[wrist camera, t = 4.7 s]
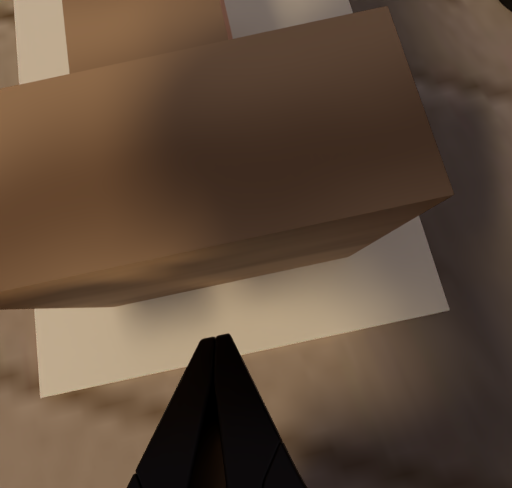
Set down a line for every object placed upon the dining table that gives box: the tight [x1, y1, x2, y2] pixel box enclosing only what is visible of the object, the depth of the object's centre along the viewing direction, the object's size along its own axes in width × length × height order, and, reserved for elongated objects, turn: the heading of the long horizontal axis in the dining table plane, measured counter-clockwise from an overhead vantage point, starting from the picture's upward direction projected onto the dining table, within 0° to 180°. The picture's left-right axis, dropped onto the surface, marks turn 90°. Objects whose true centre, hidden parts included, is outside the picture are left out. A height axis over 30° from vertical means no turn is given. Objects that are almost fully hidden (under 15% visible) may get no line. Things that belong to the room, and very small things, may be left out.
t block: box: [0, 0, 454, 309], centre depth 13 cm, size 15×12×9 cm
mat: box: [14, 0, 450, 398], centre depth 17 cm, size 25×20×1 cm
